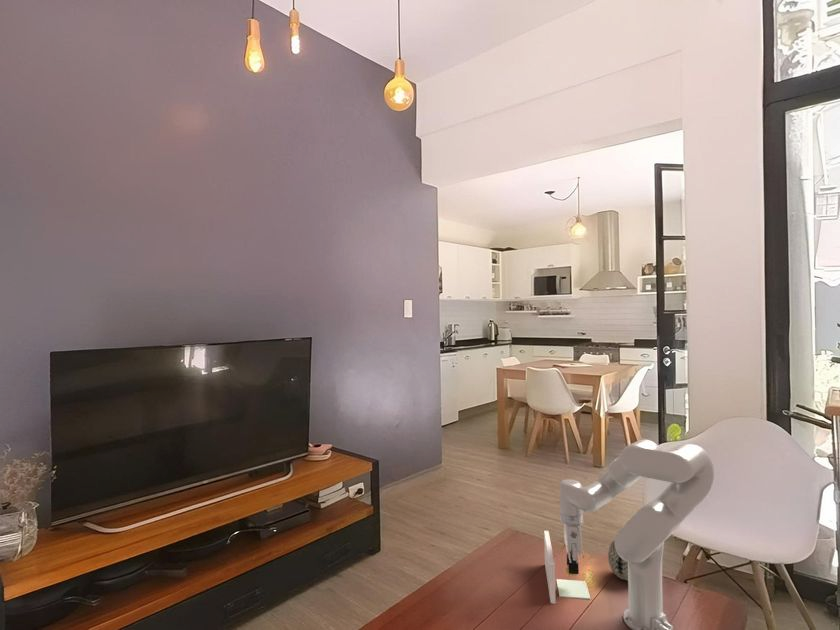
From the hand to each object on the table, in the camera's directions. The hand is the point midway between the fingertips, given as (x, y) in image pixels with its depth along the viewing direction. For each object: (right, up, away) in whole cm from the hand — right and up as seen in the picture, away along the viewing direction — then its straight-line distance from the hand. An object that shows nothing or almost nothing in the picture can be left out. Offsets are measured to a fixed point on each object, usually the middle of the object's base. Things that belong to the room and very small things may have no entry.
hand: (572, 569), depth 164 cm
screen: (-7, -7, +4) cm, 11 cm away
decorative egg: (+21, -7, +6) cm, 23 cm away
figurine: (0, -3, +1) cm, 3 cm away
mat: (0, -7, 0) cm, 7 cm away
